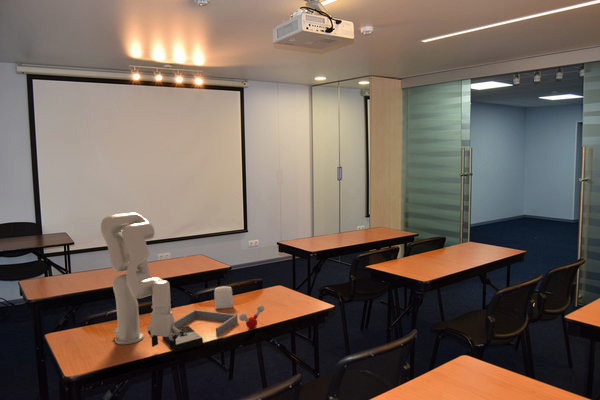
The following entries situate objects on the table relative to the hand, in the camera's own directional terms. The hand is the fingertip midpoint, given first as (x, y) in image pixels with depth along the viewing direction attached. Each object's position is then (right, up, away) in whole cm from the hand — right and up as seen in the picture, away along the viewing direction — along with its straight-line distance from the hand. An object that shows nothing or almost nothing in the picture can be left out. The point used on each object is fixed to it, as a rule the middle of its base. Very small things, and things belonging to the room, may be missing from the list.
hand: (163, 346), depth 189 cm
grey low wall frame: (+12, 0, +30) cm, 32 cm away
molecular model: (+36, 0, +26) cm, 44 cm away
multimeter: (+5, -2, +12) cm, 14 cm away
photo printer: (+16, +2, +58) cm, 61 cm away
